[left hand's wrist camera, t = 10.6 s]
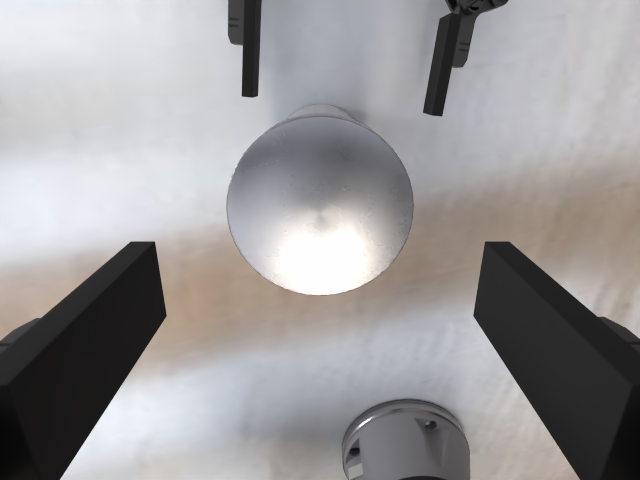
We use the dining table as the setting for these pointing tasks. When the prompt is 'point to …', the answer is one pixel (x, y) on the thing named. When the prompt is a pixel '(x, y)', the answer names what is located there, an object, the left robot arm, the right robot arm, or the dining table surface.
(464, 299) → the dining table surface
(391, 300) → the dining table surface
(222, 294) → the dining table surface
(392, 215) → the lid
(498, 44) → the dining table surface
